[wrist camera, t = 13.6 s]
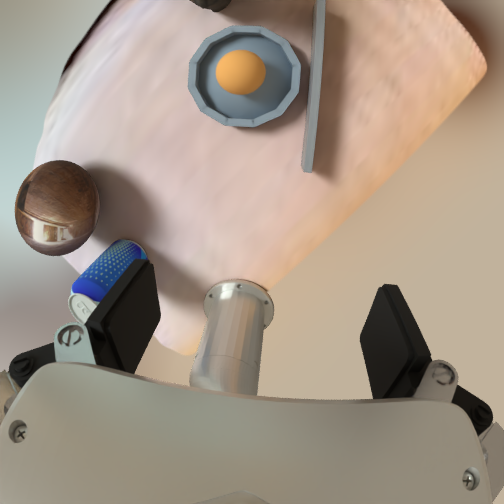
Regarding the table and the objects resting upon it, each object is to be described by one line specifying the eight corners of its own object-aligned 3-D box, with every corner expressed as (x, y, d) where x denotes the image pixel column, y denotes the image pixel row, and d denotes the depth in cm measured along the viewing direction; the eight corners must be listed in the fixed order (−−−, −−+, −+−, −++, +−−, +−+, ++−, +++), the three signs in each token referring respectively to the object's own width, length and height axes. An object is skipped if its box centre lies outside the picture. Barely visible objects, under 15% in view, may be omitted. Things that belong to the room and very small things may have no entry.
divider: (308, 166, 37) (311, 172, 33) (301, 165, 37) (303, 171, 34) (320, 8, 26) (325, -3, 22) (313, 7, 26) (317, -4, 22)
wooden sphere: (119, 236, 46) (71, 283, 33) (59, 226, 46) (10, 264, 33) (115, 151, 38) (52, 176, 25) (52, 152, 39) (-8, 176, 26)
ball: (268, 56, 30) (265, 45, 24) (265, 97, 32) (261, 94, 27) (223, 55, 30) (211, 45, 25) (220, 95, 33) (208, 92, 28)
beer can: (152, 241, 46) (106, 298, 32) (152, 281, 50) (114, 342, 36) (111, 231, 45) (58, 281, 32) (113, 270, 50) (69, 324, 36)
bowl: (294, 129, 35) (295, 131, 33) (191, 124, 36) (186, 125, 34) (301, 34, 28) (303, 29, 26) (197, 31, 29) (192, 27, 27)
